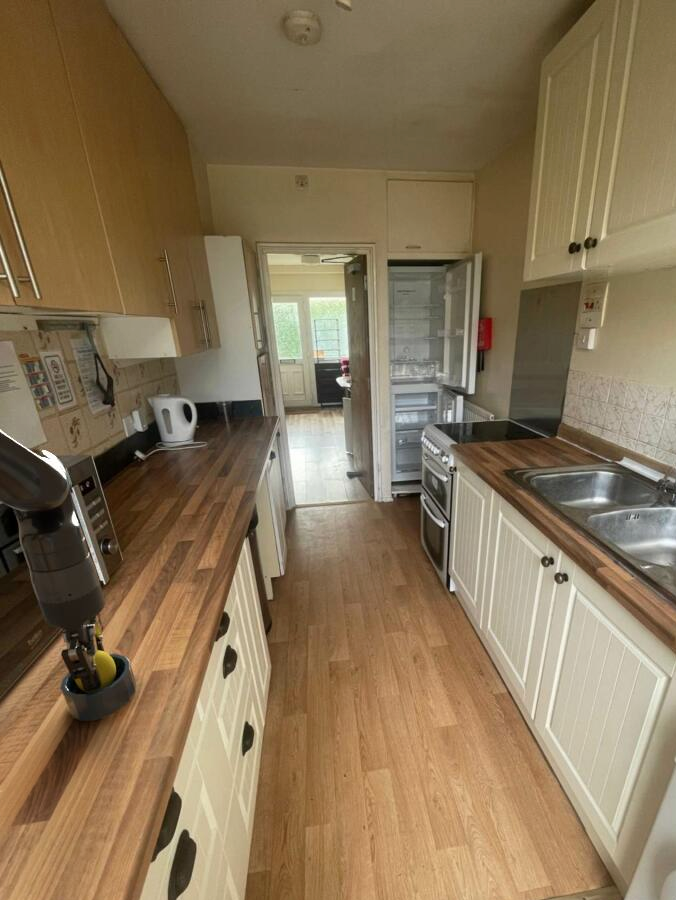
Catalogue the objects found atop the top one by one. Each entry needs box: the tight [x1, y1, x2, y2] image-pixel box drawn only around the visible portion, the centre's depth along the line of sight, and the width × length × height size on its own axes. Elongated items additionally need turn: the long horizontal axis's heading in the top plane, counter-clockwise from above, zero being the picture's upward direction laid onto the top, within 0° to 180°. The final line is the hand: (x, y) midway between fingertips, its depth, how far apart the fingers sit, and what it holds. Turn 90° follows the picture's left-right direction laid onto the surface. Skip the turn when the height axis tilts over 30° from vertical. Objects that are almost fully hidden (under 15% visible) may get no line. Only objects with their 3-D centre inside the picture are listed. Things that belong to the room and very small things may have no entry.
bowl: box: [59, 653, 137, 722], centre depth 70 cm, size 9×9×6 cm
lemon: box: [75, 650, 116, 693], centre depth 69 cm, size 6×6×8 cm
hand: (96, 674), depth 69 cm, fingers closed on lemon, 5 cm apart
